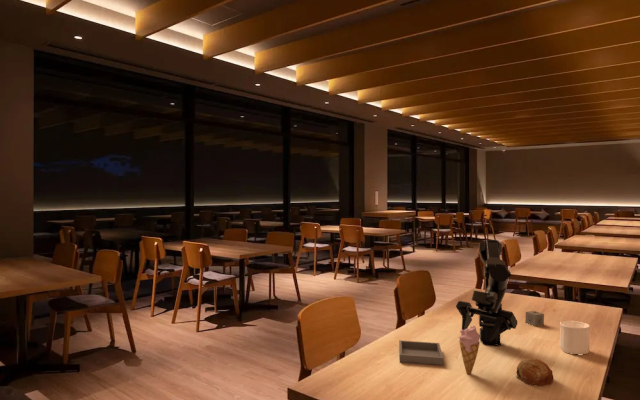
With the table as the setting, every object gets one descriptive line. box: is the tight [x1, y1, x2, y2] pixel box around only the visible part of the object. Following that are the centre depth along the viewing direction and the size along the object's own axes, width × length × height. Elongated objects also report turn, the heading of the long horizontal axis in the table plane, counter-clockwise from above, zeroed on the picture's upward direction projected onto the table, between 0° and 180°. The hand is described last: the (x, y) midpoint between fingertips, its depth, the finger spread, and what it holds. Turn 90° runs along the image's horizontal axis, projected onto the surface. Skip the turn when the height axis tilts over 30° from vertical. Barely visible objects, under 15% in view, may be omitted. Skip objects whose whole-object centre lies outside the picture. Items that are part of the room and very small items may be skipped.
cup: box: [559, 319, 591, 355], centre depth 154 cm, size 10×10×10 cm
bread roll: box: [515, 357, 554, 387], centre depth 131 cm, size 10×10×8 cm
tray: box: [398, 340, 444, 367], centre depth 148 cm, size 14×14×2 cm
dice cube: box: [525, 310, 545, 327], centre depth 186 cm, size 5×5×5 cm
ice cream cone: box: [458, 325, 480, 375], centre depth 134 cm, size 7×6×15 cm
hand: (475, 336), depth 136 cm, fingers open, 9 cm apart
